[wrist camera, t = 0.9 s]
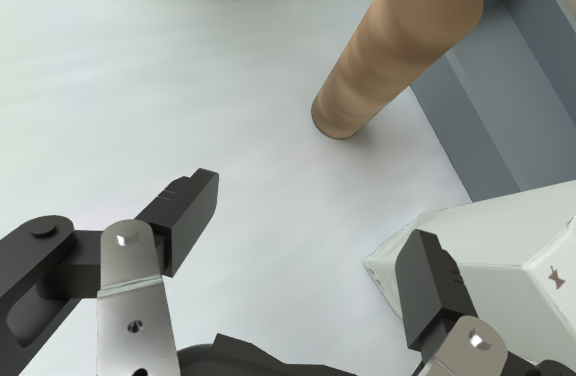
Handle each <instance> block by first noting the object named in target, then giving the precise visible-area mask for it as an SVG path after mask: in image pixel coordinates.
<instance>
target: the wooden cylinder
mask: <svg viewBox="0 0 576 376" xmlns="http://www.w3.org/2000/svg"><path fill="white" fill-rule="evenodd" d="M482 13H483V0H374V1H373V3H372V4H371V6H370V8H369V9H368V11H367V13H366V14H365V16H364V18H363V19H362V21H361V23H360V24H359V26H358V28H357V29H356V31H355V33H354V34H353V36H352V38H351V39H350V41H349V43H348V44H347V46H346V48H345V49H344V51H343V53H342V54H341V56H340V58H339V59H338V61H337V63H336V64H335V66H334V68H333V69H332V71H331V73H330V74H329V76H328V78H327V80H326V81H325V83H324V85H323V86H322V88H321V90H320V91H319V93H318V95H317V96H316V98H315V100H314V101H313V104H312V108H311V114H312V119H313V122H314V124H315V125H316V127H317V128H318V129H319V130H320V131H321V132H322V133H323V134H325V135H326V136H328V137H331V138H334V139H345V138H348V137H350V136H352V135H353V134H354V133H356V132H357V131H358V130H359V129H360V128H361V127H362V126H363V125H365V124H366V123H367V122H368V121H369V120H370V119H371V118H373V117H374V116H375V115H376V114H377V113H378V112H379V111H380V110H382V109H383V108H384V107H385V106H386V105H387V104H388V103H389V102H391V101H392V100H393V99H394V98H395V97H396V96H397V95H399V94H400V93H401V92H402V91H403V90H404V89H405V88H406V87H408V86H409V85H410V84H411V83H412V82H413V81H414V80H415V79H417V78H418V77H419V76H420V75H421V74H422V73H423V72H425V71H426V70H427V69H428V68H429V67H430V66H431V65H432V64H434V63H435V62H436V61H437V60H438V59H439V58H440V57H441V56H443V55H444V54H445V53H446V52H447V51H448V50H449V49H451V48H452V47H453V46H454V45H455V44H456V43H457V42H458V41H460V40H461V39H462V38H463V37H464V36H465V35H466V34H467V33H469V32H470V31H471V30H472V29H473V28H474V27H475V26H476V25H477V24H478V22H479V21H480V19H481V16H482Z"/></svg>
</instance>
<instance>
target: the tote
mask: <svg viewBox="0 0 576 376" xmlns="http://www.w3.org/2000/svg"><path fill="white" fill-rule="evenodd" d="M410 86H411V88H412V90H413V92H414V93H415V95H416V97H417V99H418V101H419V103H420V105H421V106H422V108H423V110H424V112H425V114H426V116H427V118H428V119H429V121H430V123H431V125H432V127H433V129H434V131H435V132H436V134H437V136H438V138H439V140H440V142H441V144H442V145H443V147H444V149H445V151H446V153H447V155H448V157H449V158H450V160H451V162H452V164H453V166H454V168H455V170H456V171H457V173H458V175H459V177H460V179H461V181H462V183H463V184H464V186H465V188H466V190H467V192H468V194H469V196H470V197H471V199H472V201H473V203H474V202H479V201H483V200H488V199H493V198H497V197H501V196H506V195H510V194H515V193H519V192H524V191H528V190H533V189H537V188H542V187H546V186H551V185H555V184H560V183H564V182H569V181H573V180H576V20H575V18H574V17H573V15H572V14H571V12H570V10H569V9H568V7H567V5H566V4H565V2H564V0H483V13H482V16H481V19H480V21H479V22H478V24H477V25H476V26H475V27H474V28H473V29H472V30H471V31H470V32H469V33H467V34H466V35H465V36H464V37H463V38H462V39H461V40H460V41H458V42H457V43H456V44H455V45H454V46H453V47H452V48H451V49H449V50H448V51H447V52H446V53H445V54H444V55H443V56H441V57H440V58H439V59H438V60H437V61H436V62H435V63H434V64H432V65H431V66H430V67H429V68H428V69H427V70H426V71H425V72H423V73H422V74H421V75H420V76H419V77H418V78H417V79H415V80H414V81H413V82H412V83H411V84H410Z"/></svg>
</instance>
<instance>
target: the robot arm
mask: <svg viewBox="0 0 576 376" xmlns="http://www.w3.org/2000/svg"><path fill="white" fill-rule="evenodd" d="M218 183H219V174H218V173H217V172H213V171H209V170H206V169H202V168H199V169H198V170H197V171H196V172H195V173H194V174H193V175H192V176H191V177H190V178H188V177H185V176H183V177H181V178H179V179H176V180H174V181H172V182H171V183H170V184H169V185H168V186H167V187H166V188H165V189H164V191H162V192H161V193H160V194H159V195H158V197H156V198H155V199H154V200H153V201H152V202H151V203H150V204H149V205H148V206H147V207H146V208H145V209H144V210H143V211H142V212H141V213H140V214H139V215H138V216H137V217H136V218H135V219H134V220H123V221H119V222H116V223H114V224H112V225H110V226H109V227H107V228H106V229H105V230H104V231H86V230H74V226H73V223H72V221H71V220H69V219H68V218H66V217H63V216H56V215H51V216H42V217H38V218H35V219H32V220H29V221H27V222H25V223H24V224H22V225H20V226H19V227H18V228H16V229H15V230H14V231H12V232H11V233H9V234H8V235H7V236H5V237H4V238H3V239H1V240H0V376H18V375H19V374H20V373H21V372H22V371H23V369H24V368H25V367H26V366H27V365H28V363H29V362H30V361H31V360H32V359H33V357H34V356H35V355H36V354H37V352H38V351H39V350H40V349H41V348H42V346H43V345H44V344H45V343H46V342H47V340H48V339H49V338H50V337H51V336H52V334H53V333H54V332H55V331H56V330H57V328H58V327H59V326H60V325H61V324H62V322H63V321H64V320H65V319H66V318H67V316H68V315H69V314H70V313H71V312H72V310H73V309H74V308H75V307H76V305H77V304H78V303H79V302H80V301H81V299H83V298H97V355H96V376H357V375H355V374H352V373H348V372H345V371H342V370H338V369H335V368H332V367H328V366H325V365H309V364H285V363H283V362H281V361H279V360H277V359H276V358H274V357H273V356H271V355H269V354H268V353H266V352H265V351H263V350H261V349H260V348H258V347H256V346H255V345H253V344H252V343H249V342H245V341H242V340H239V339H235V338H232V337H229V336H225V335H222V334H219V333H217V335H216V338H215V340H214V343H213V344H200V345H194V346H190V347H187V348H184V349H181V350H179V351H177V352H176V347H175V341H174V336H173V331H172V325H171V320H170V314H169V309H168V304H167V298H166V293H165V288H164V282H163V278H162V275H165V276H168V277H171V278H173V276H174V275H175V273H176V272H177V270H178V269H179V267H180V266H181V264H182V263H183V261H184V260H185V258H186V256H187V255H188V253H189V252H190V250H191V249H192V247H193V246H194V244H195V243H196V241H197V240H198V238H199V237H200V235H201V234H202V232H203V230H204V229H205V227H206V226H207V224H208V223H209V221H210V220H211V218H212V216H213V214H214V212H215V209H216V204H217V194H218ZM395 274H396V280H397V286H398V292H399V298H400V304H401V310H402V316H403V322H404V328H405V334H406V340H407V346H408V348H409V349H412V350H415V351H419V352H421V355H422V360H421V361H420V362H419V363H418V364H417V366H416V367H415V368H414V370H413V371H412V373H411V374H410V376H576V373H575V372H574V371H573V370H571V369H570V368H569V367H567V366H565V365H564V364H562V363H560V362H557V361H554V360H544V361H542V362H540V363H539V364H538V365H536V366H535V365H533V364H531V363H529V362H527V361H526V360H524V359H522V358H520V357H519V356H517V355H515V354H513V353H511V352H510V351H508V350H507V347H506V345H505V343H504V341H503V339H502V338H501V336H500V335H499V334H498V333H497V332H496V331H495V330H494V329H493V328H492V327H491V326H490V325H489V324H487V323H486V322H484V321H483V320H481V319H479V317H478V315H477V312H476V310H475V307H474V305H473V302H472V300H471V298H470V295H469V293H468V290H467V288H466V285H464V280H463V278H462V276H461V275H460V271H459V268H458V266H457V263H456V261H455V260H454V259H453V258H452V256H451V255H450V254H449V253H448V252H447V250H444V249H442V247H441V245H440V242H439V239H438V237H437V235H436V234H434V233H430V232H427V231H423V230H419V229H414V230H413V231H412V232H411V234H410V236H409V237H408V239H407V241H406V242H405V244H404V246H403V247H402V249H401V251H400V252H399V254H398V256H397V259H396V262H395Z"/></svg>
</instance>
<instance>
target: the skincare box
mask: <svg viewBox="0 0 576 376" xmlns="http://www.w3.org/2000/svg"><path fill="white" fill-rule="evenodd" d="M414 229H419V230H423V231H427V232H430V233H434V234H436V235H437V237H438V239H439V242H440V245H441V247H442V249H444V250H447V252H448V253H449V254H450V255H451V256H452V258H453V259H454V260H455V261H456V263H457V266H458V268H459V271H460V275H461V276H462V278H463V280H464V285H466V288H467V290H468V293H469V295H470V298H471V300H472V302H473V305H474V307H475V310H476V312H477V315H478V317H479V319H481V320H483V321H484V322H486V323H487V324H489V325H490V326H491V327H492V328H493V329H494V330H495V331H496V332H497V333H498V334H499V335H500V336H501V338H502V339H503V341H504V343H505V345H506V347H507V350H508V351H510V352H511V353H513V354H515V355H517V356H520V357H523V358H526V359H529V360H532V361H535V362H538V363H540V362H542V361H544V360H554V361H557V362H560V363H562V364H564V365H565V366H567V367H569V368H570V369H571V370H573V371H574V372H575V373H576V180H573V181H569V182H564V183H560V184H555V185H551V186H546V187H542V188H537V189H533V190H528V191H524V192H519V193H515V194H510V195H506V196H501V197H497V198H493V199H488V200H483V201H479V202H474V203H470V204H465V205H461V206H456V207H451V208H447V209H442V210H438V211H433V212H428V213H423V214H421V215H419V216H418V217H417V218H416V219H414V220H413V221H412V222H411V223H409V224H408V225H407V226H405V227H404V228H403V229H402V230H400V231H399V232H398V233H396V234H395V235H394V236H393V237H391V238H390V239H389V240H388V241H386V242H385V243H384V244H383V245H382V246H381V247H379V248H378V249H377V250H376V251H375V252H374V253H373V254H371V255H370V256H369V257H367V258H366V259H364V260H363V264H364V266H365V267H366V269H367V270H368V272H369V273H370V275H371V276H372V278H373V279H374V281H375V282H376V284H377V285H378V287H379V289H380V290H381V292H382V293H383V295H384V297H385V298H386V300H387V301H388V303H389V304H390V306H391V307H392V309H393V310H394V312H395V313H396V315H398V317H400V318H402V319H403V316H402V310H401V304H400V298H399V292H398V286H397V280H396V274H395V262H396V259H397V256H398V254H399V252H400V251H401V249H402V247H403V246H404V244H405V242H406V241H407V239H408V237H409V236H410V234H411V232H412V231H413V230H414Z"/></svg>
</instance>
